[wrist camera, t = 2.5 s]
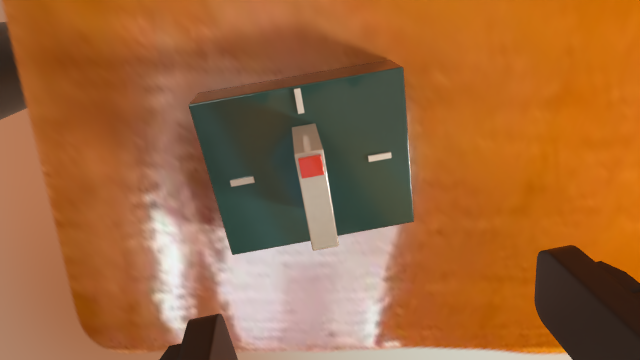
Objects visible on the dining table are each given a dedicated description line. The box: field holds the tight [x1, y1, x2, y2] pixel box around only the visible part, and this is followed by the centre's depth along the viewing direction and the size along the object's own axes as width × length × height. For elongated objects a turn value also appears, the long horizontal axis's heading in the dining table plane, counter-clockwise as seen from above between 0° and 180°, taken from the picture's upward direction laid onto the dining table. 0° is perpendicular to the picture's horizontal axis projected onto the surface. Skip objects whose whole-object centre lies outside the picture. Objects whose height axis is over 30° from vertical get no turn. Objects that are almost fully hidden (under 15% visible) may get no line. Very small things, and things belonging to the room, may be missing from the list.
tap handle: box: [292, 123, 339, 251], centre depth 22 cm, size 6×1×5 cm, turn 9°
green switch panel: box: [189, 60, 414, 255], centre depth 26 cm, size 12×10×3 cm
